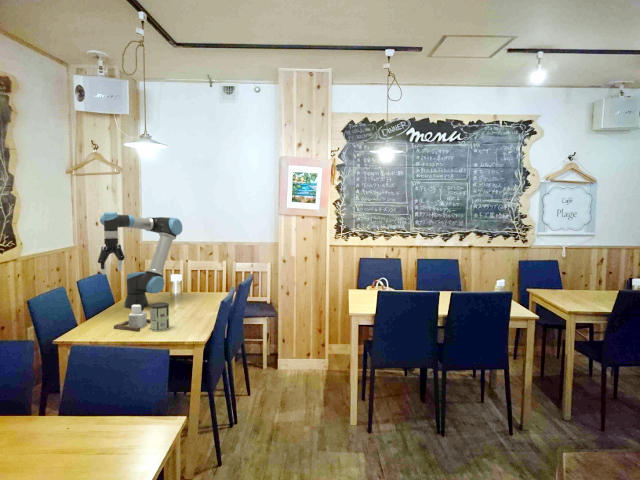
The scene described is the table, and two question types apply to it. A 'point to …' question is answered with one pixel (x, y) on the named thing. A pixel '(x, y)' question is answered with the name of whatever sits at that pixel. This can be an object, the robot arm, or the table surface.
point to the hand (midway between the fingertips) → (112, 272)
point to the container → (137, 316)
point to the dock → (123, 326)
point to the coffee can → (159, 316)
